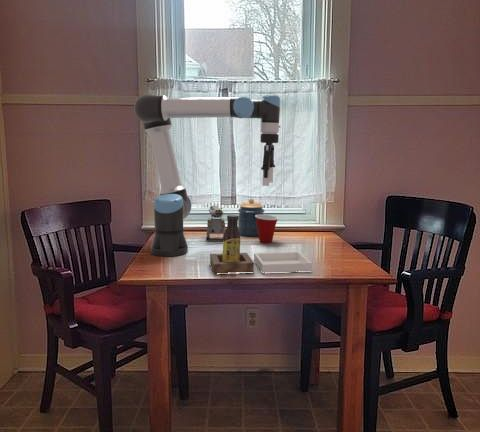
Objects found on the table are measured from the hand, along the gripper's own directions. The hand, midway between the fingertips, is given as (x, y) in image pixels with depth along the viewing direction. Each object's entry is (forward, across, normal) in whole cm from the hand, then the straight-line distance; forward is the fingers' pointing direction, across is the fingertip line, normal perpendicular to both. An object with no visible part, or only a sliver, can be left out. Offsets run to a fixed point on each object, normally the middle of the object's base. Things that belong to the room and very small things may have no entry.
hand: (267, 184), depth 195 cm
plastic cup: (+28, +10, +1) cm, 30 cm away
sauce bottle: (+28, -35, +8) cm, 46 cm away
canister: (+28, +25, +10) cm, 39 cm away
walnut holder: (+28, -35, +8) cm, 45 cm away
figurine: (+28, +11, +24) cm, 39 cm away
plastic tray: (+27, -29, -10) cm, 41 cm away
